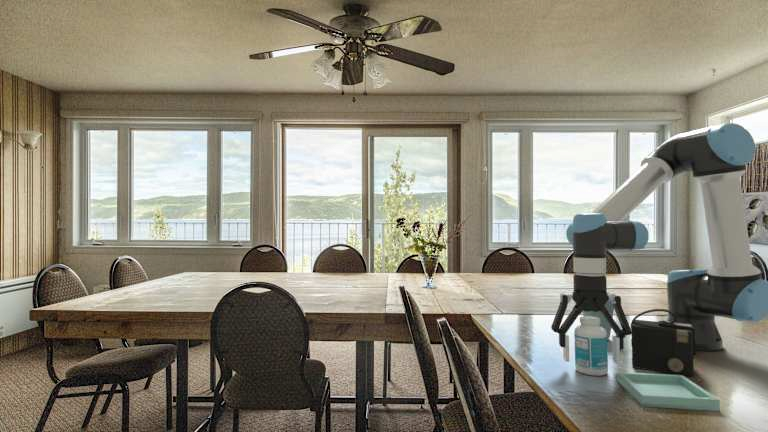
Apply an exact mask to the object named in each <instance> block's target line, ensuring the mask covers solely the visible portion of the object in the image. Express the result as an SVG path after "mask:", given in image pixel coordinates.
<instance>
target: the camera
mask: <svg viewBox="0 0 768 432" xmlns="http://www.w3.org/2000/svg"><path fill="white" fill-rule="evenodd" d="M653 312H654V313H655V312H663V313H664V312H665V313H668V312H669V313H671V314H672V315H673V316H674V319H673V320H672V321H667V320H658V321H655V320H653V321H652V320H643V319H638V318H639V317H641V316H643V315H645V314H649V313H653ZM675 320H676V318H675V315H674V313H673V312H672V311H670V310H668V309H665V308H654V309H648V310H644V311H642V312H640V313H639V314H637V315H636V316H635V317H634V318H633V319H632V320H631V323H630V328H631V331H632V334H631V339H630V341H631V342H630V343H631V364H632V365H631V366H632V368H637V369H640V370H641V369H642V370H648V371H649V370H650V371H655V372H663V373H667V374H668V373H669V374H673V375H683V376H688V377H689V376H690V377H692V376H694V374H695V371H694V369H695V368H694V367H695V366H694V360H695V356H697V350H696V343H695V330H694V328H693V325H692V324H690V323H681V322H675Z"/></svg>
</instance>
